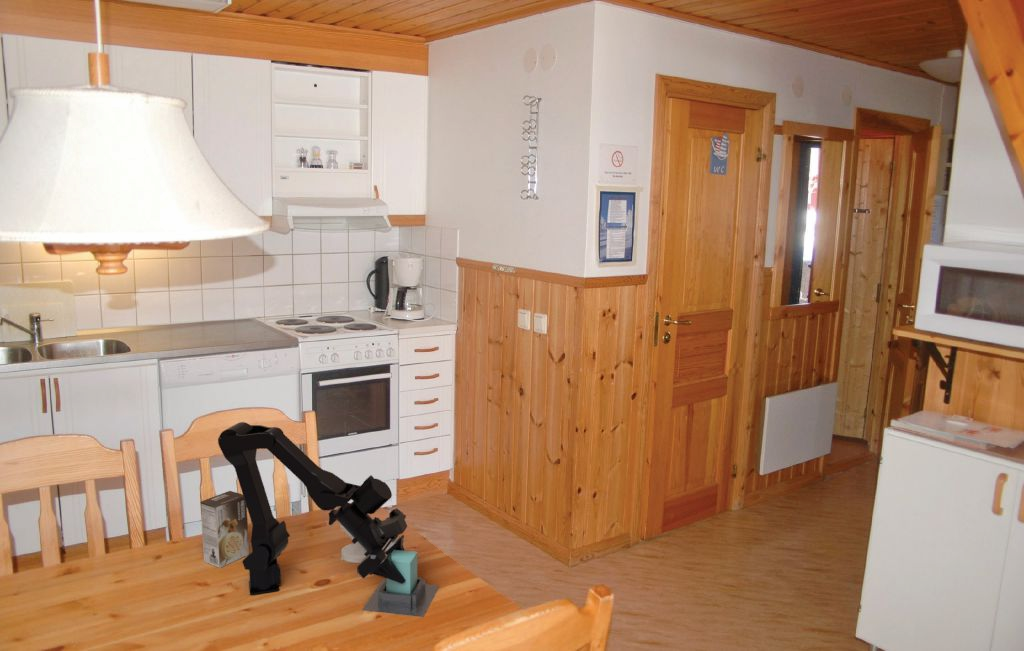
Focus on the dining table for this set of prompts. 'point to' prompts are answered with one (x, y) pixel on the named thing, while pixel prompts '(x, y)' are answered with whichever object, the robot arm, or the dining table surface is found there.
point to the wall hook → (352, 550)
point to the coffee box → (224, 528)
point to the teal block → (404, 572)
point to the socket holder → (402, 600)
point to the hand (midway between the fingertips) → (407, 576)
